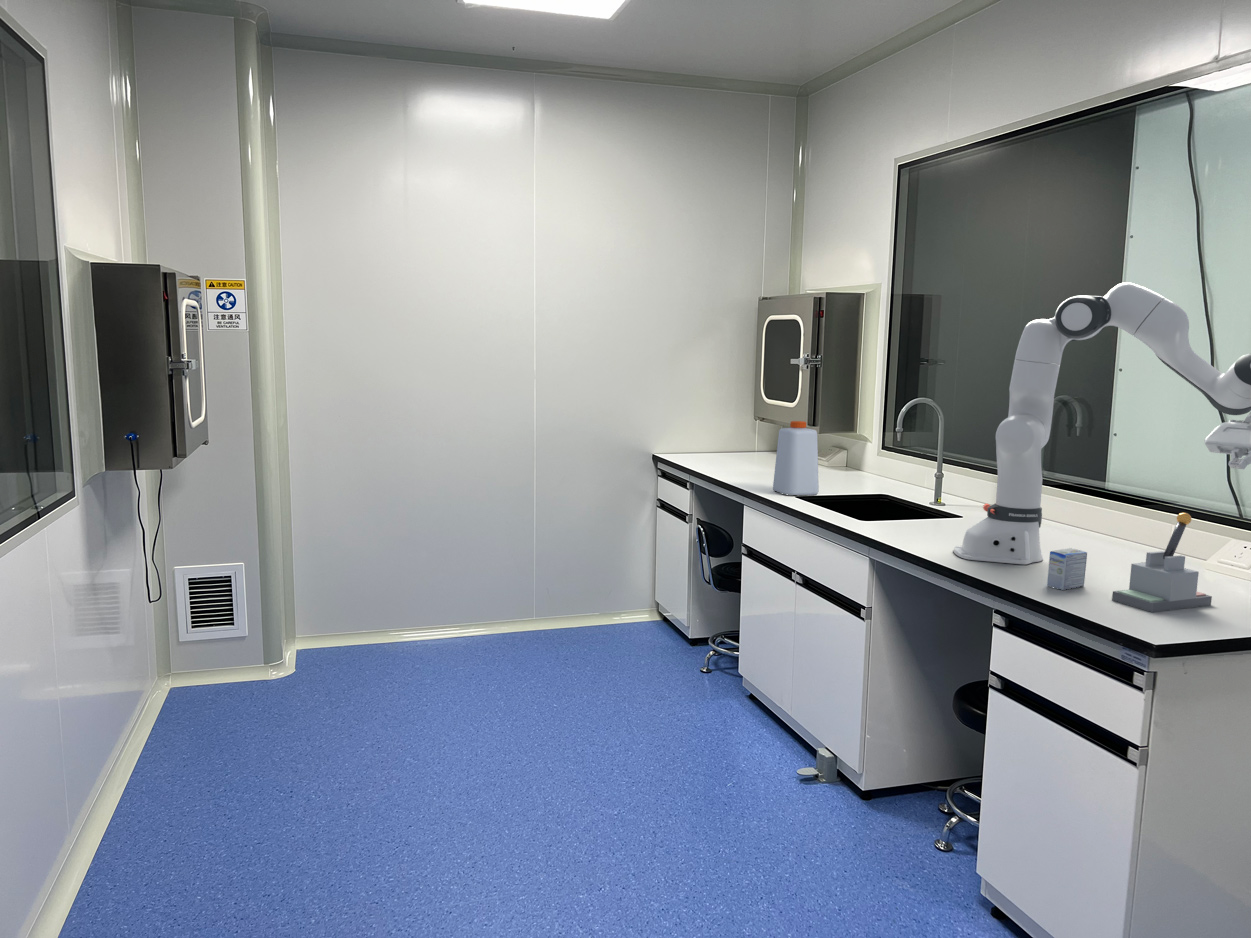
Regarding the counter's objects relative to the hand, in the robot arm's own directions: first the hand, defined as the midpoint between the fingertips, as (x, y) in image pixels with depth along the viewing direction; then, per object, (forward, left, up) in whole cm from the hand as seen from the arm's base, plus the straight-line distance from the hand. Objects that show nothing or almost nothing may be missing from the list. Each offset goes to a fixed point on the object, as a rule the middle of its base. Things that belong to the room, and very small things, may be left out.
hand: (1235, 466), depth 200 cm
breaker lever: (-17, -10, -21) cm, 29 cm away
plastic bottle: (-94, +127, -30) cm, 161 cm away
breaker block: (-17, -10, -30) cm, 36 cm away
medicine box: (-34, 0, -30) cm, 45 cm away
